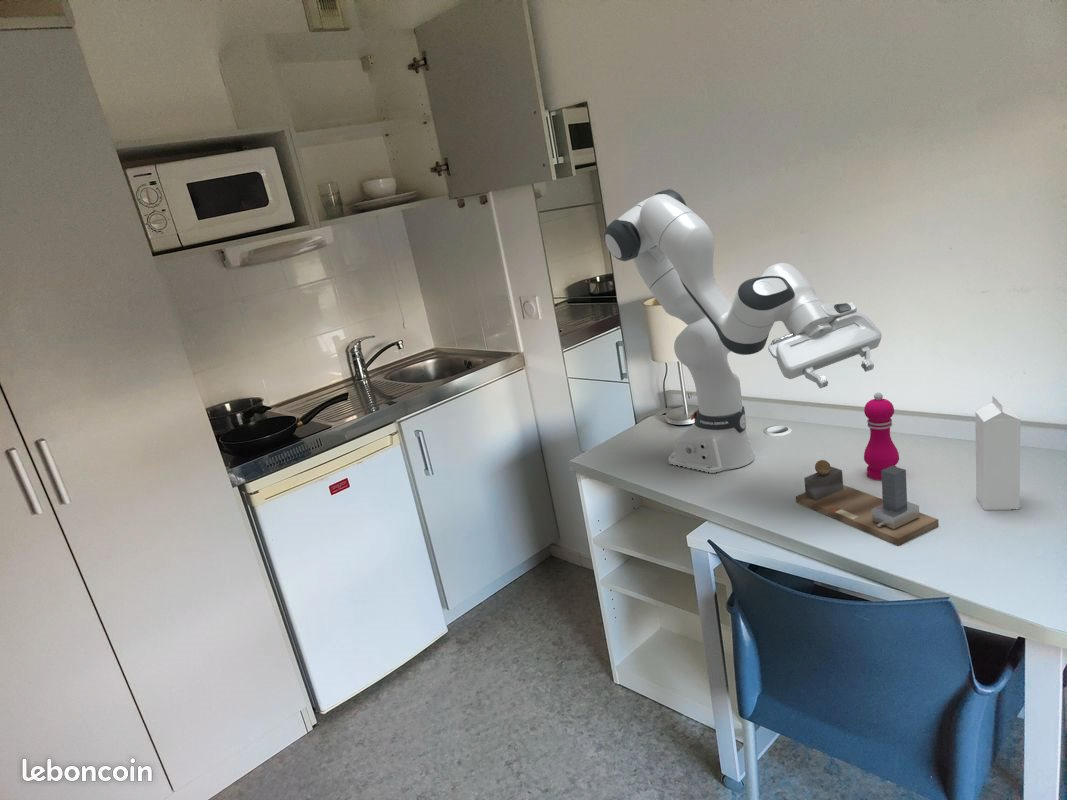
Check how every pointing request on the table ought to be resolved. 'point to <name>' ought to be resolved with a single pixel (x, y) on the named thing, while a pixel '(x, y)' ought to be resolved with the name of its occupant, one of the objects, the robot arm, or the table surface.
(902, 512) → the handle
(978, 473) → the milk
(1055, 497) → the table surface
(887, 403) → the pepper mill
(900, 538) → the base
